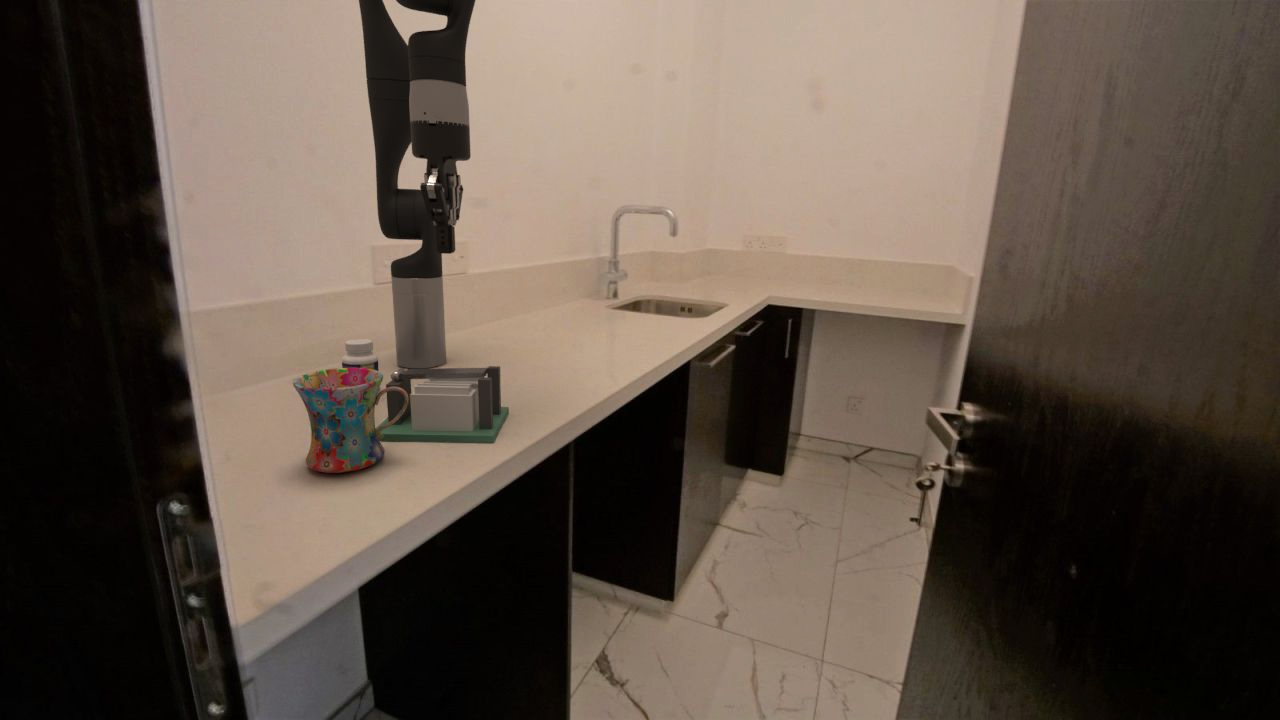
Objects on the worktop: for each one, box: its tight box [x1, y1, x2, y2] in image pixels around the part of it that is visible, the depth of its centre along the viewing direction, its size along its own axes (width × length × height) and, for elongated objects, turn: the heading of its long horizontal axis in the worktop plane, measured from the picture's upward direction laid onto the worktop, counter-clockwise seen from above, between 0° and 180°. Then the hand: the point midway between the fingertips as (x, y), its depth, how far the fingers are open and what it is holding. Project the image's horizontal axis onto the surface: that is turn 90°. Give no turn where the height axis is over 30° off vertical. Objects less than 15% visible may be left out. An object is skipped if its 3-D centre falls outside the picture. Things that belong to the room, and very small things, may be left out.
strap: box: [390, 367, 488, 381], centre depth 81 cm, size 3×12×1 cm, turn 93°
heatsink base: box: [375, 365, 510, 444], centre depth 82 cm, size 12×16×8 cm
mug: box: [292, 367, 409, 474], centre depth 69 cm, size 12×9×11 cm
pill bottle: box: [341, 338, 381, 396], centre depth 95 cm, size 5×5×9 cm
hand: (446, 252), depth 83 cm, fingers closed
